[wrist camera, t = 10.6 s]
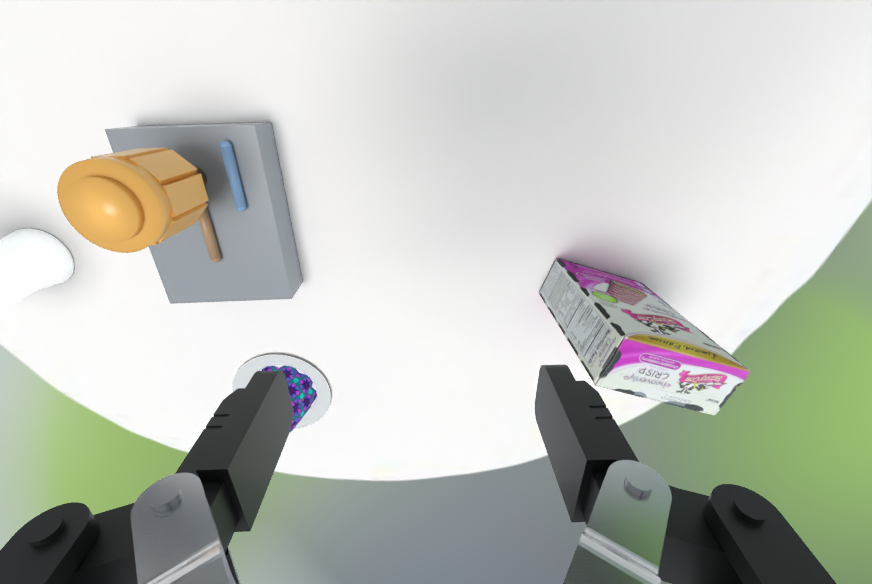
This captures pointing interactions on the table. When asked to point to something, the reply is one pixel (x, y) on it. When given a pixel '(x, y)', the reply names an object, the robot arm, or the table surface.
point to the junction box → (225, 214)
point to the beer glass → (31, 265)
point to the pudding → (292, 386)
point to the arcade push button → (132, 197)
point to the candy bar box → (638, 340)
